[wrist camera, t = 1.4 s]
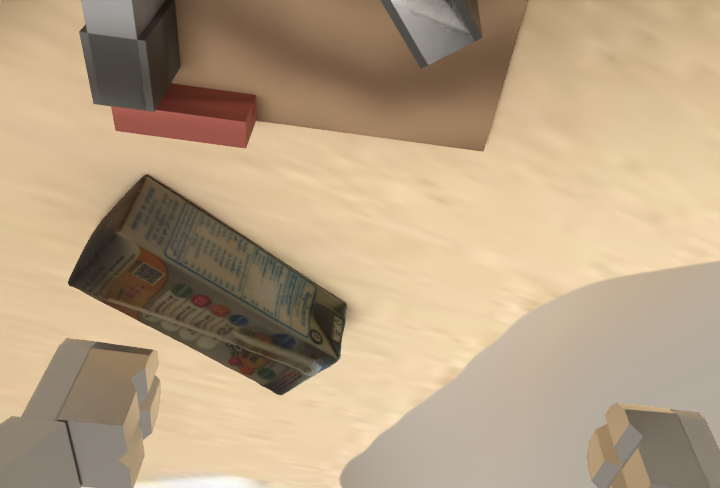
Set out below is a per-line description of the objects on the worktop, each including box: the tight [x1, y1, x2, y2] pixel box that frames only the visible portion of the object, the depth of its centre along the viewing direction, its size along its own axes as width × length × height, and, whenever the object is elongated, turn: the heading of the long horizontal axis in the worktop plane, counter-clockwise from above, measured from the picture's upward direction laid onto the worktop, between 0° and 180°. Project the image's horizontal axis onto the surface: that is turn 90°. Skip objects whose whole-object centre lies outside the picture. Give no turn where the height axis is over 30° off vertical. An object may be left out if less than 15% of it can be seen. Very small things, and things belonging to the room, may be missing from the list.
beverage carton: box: [68, 175, 346, 395], centre depth 48 cm, size 8×19×7 cm, turn 48°
